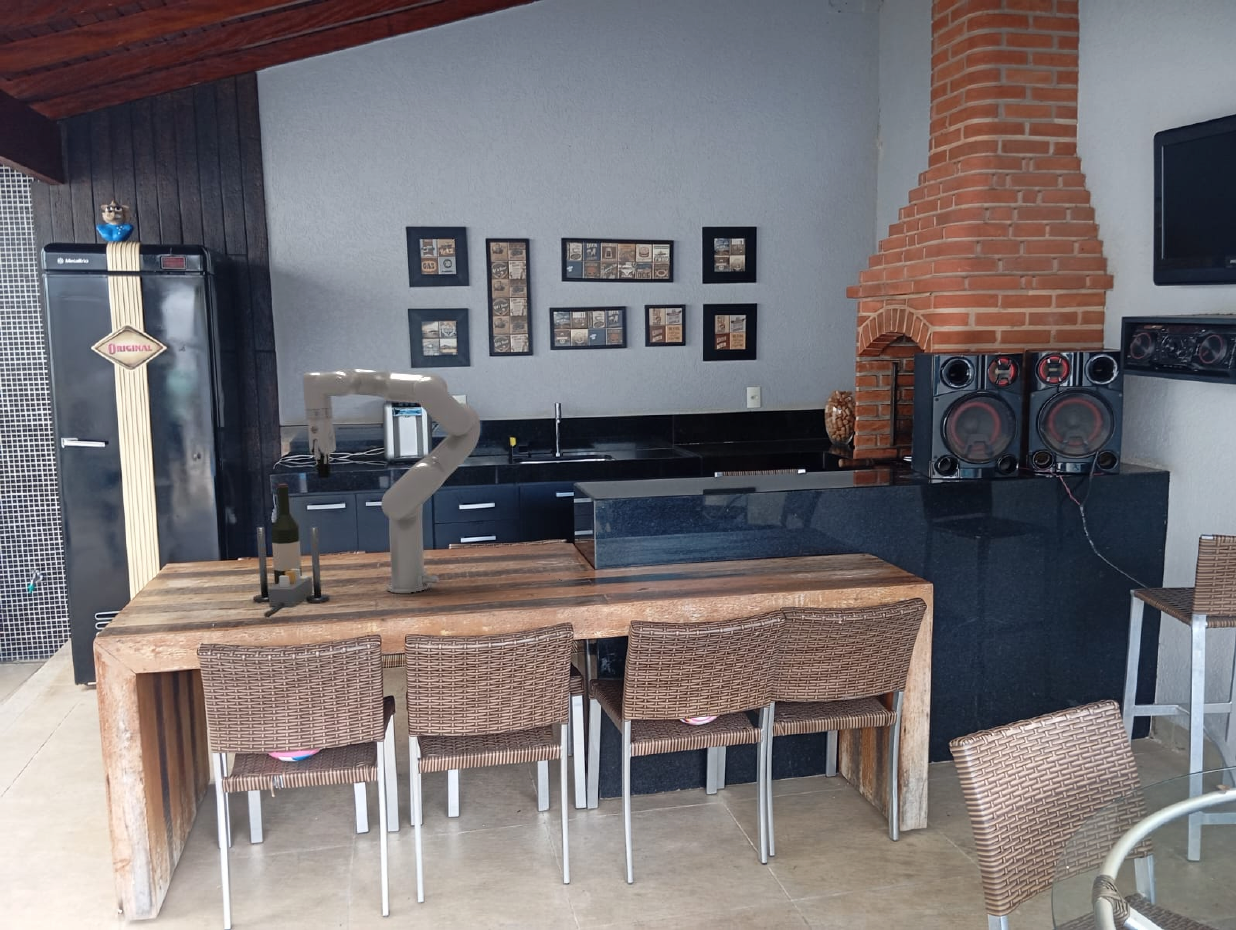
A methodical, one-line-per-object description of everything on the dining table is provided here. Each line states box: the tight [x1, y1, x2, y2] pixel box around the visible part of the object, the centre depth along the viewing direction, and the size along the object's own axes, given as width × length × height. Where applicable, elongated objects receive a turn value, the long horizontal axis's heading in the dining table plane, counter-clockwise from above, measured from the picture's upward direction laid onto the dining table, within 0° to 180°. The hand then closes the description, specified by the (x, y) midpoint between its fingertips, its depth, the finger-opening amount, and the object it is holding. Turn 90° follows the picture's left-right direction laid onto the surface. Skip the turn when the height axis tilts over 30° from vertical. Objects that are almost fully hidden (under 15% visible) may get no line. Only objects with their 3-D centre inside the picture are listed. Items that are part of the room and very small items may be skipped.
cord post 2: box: [305, 526, 331, 604], centre depth 305 cm, size 6×6×21 cm
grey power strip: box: [263, 569, 314, 618], centre depth 302 cm, size 7×24×8 cm, turn 174°
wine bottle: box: [271, 483, 303, 584], centre depth 328 cm, size 8×8×30 cm
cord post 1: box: [252, 526, 269, 603], centre depth 306 cm, size 6×6×21 cm
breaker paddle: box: [285, 571, 295, 583], centre depth 306 cm, size 2×1×3 cm, turn 84°
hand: (324, 477), depth 313 cm, fingers closed
